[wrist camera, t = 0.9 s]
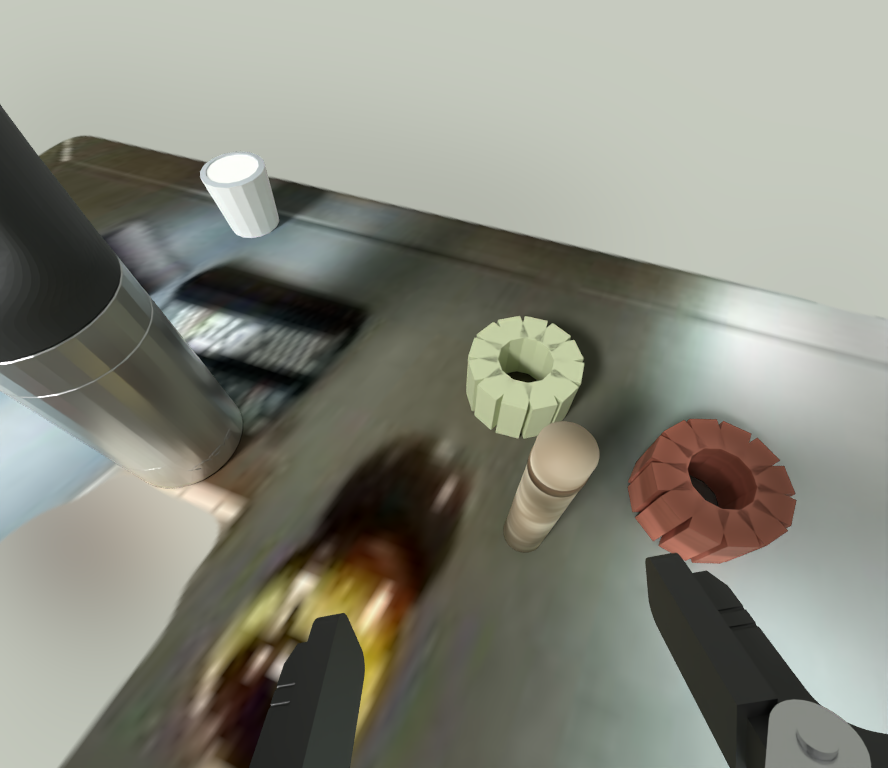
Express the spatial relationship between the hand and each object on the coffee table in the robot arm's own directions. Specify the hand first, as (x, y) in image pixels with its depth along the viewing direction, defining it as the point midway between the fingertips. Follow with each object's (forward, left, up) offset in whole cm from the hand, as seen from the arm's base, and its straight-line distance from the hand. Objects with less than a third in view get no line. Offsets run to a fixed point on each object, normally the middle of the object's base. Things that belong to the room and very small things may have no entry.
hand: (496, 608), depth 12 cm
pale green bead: (-6, +20, -21) cm, 30 cm away
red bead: (+10, +18, -21) cm, 29 cm away
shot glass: (-44, +25, -22) cm, 55 cm away
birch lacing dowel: (0, +9, -21) cm, 23 cm away
